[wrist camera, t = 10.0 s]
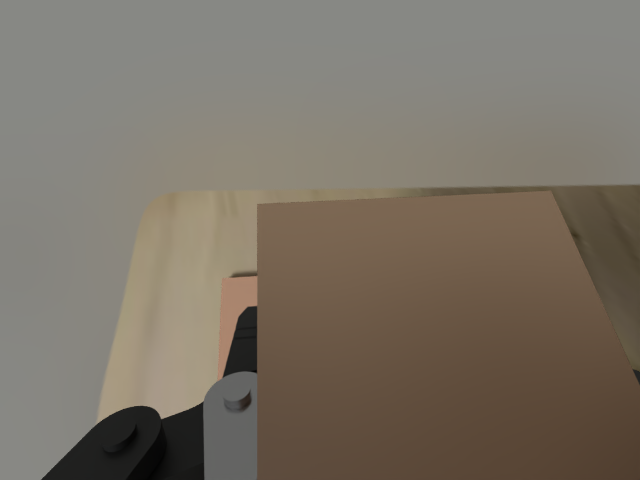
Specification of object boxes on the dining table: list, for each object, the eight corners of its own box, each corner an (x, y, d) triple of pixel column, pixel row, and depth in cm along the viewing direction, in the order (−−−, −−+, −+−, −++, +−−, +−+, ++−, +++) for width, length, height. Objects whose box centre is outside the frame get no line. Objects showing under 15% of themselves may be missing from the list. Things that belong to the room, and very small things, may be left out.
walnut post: (291, 333, 15) (257, 203, 4) (373, 326, 15) (550, 190, 4) (295, 429, 13) (257, 663, 2) (387, 420, 14) (732, 587, 3)
